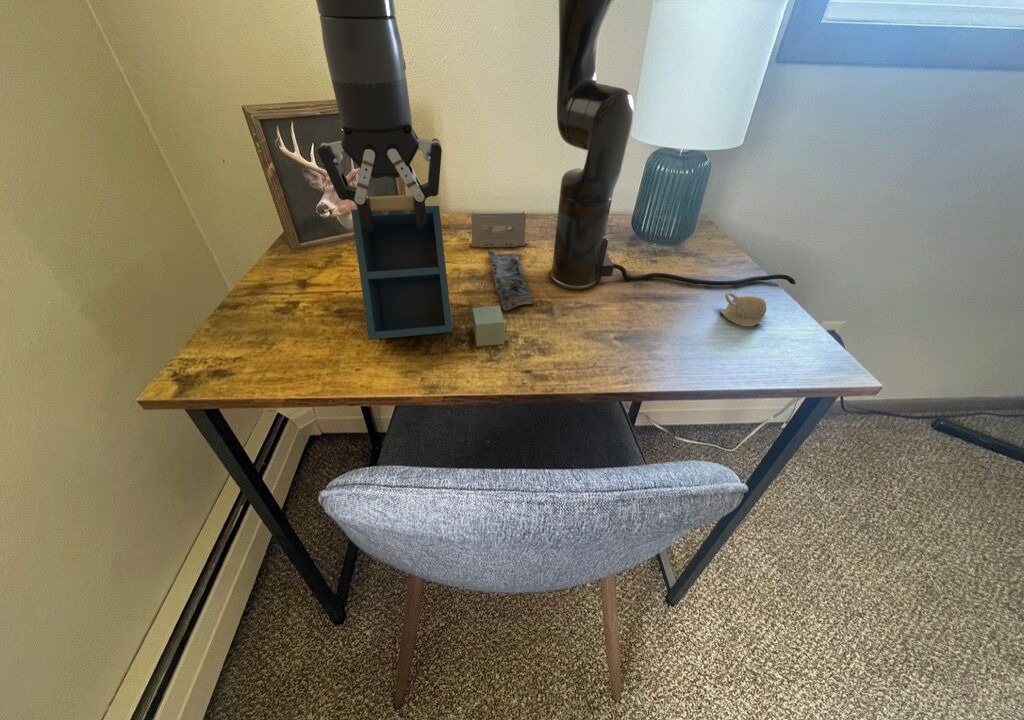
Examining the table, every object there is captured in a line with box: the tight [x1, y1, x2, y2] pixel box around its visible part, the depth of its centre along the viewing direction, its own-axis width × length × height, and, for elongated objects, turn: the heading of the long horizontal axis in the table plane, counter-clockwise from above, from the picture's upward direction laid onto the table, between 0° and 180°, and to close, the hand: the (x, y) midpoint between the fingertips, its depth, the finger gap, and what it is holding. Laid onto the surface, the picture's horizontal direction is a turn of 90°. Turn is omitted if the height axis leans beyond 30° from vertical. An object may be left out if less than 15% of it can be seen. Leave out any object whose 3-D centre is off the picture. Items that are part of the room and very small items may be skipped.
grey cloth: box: [486, 250, 535, 311], centre depth 81 cm, size 21×7×2 cm, turn 8°
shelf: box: [350, 194, 454, 341], centre depth 60 cm, size 18×12×15 cm
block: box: [471, 305, 505, 348], centre depth 67 cm, size 5×5×5 cm
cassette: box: [470, 211, 527, 248], centre depth 90 cm, size 12×2×8 cm, turn 95°
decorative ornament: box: [720, 291, 767, 328], centre depth 72 cm, size 4×8×5 cm, turn 78°
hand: (396, 227), depth 53 cm, fingers closed on shelf, 5 cm apart
